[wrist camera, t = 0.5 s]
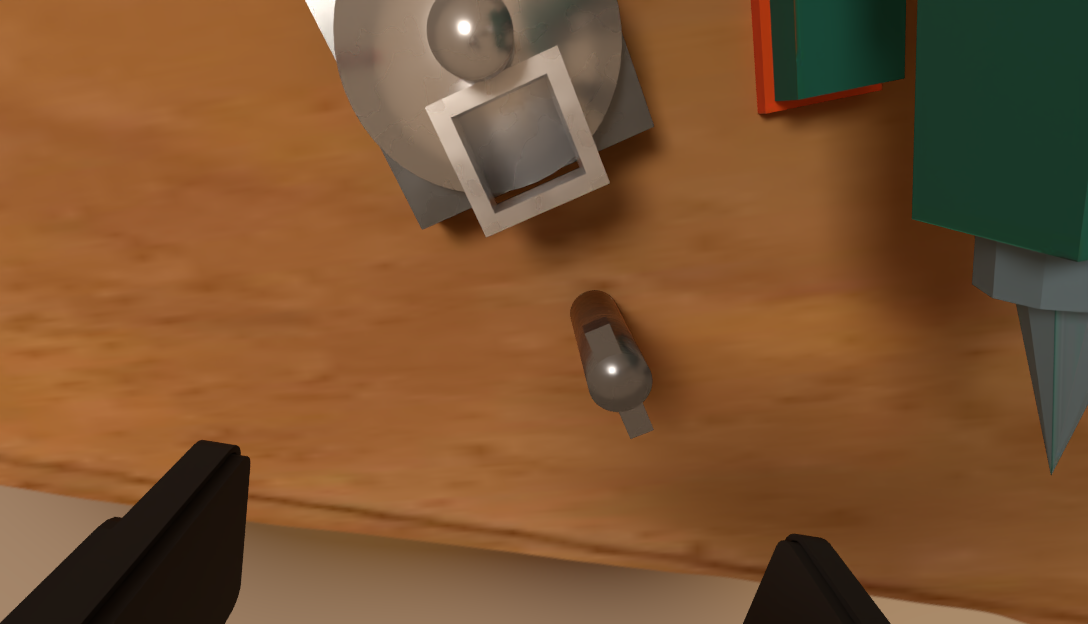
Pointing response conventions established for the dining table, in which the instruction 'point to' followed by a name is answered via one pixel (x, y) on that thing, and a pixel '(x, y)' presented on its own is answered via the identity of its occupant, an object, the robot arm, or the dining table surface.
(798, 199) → the dining table surface
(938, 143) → the power tool
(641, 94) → the stand
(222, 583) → the robot arm
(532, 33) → the collar
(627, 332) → the chuck key
